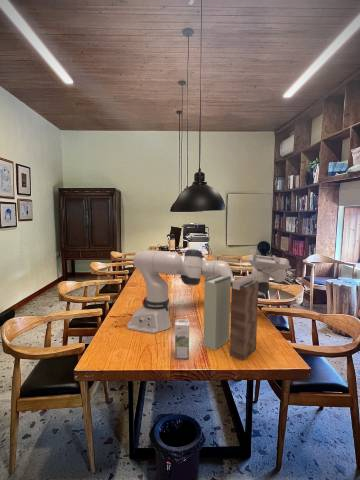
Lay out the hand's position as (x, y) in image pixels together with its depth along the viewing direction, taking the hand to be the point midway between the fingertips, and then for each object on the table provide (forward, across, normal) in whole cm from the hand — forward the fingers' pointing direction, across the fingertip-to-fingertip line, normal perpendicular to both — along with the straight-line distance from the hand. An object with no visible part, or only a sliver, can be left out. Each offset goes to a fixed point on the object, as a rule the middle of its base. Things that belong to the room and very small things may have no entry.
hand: (263, 255), depth 135 cm
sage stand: (+4, +9, -46) cm, 47 cm away
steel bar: (+16, -4, -19) cm, 25 cm away
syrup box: (+20, +14, -55) cm, 61 cm away
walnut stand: (+4, -4, -46) cm, 46 cm away
